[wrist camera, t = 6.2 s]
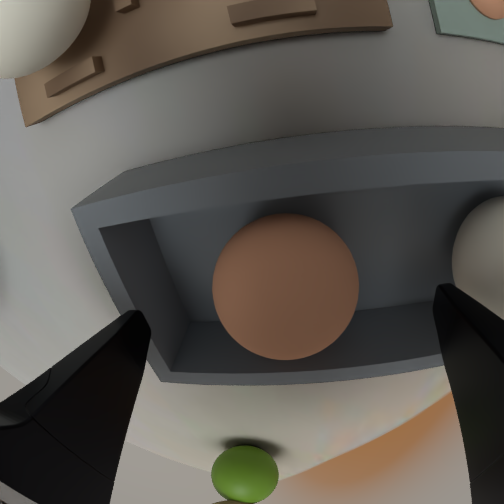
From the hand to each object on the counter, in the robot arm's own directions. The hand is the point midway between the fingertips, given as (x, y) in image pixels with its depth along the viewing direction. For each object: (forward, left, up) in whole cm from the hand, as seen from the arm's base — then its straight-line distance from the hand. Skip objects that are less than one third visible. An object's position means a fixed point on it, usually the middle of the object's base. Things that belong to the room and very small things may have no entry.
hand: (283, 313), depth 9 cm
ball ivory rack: (+6, -11, -3) cm, 13 cm away
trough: (-3, 0, -4) cm, 5 cm away
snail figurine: (+6, +19, -4) cm, 20 cm away
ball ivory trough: (-8, 0, -3) cm, 9 cm away
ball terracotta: (0, 0, -3) cm, 3 cm away
